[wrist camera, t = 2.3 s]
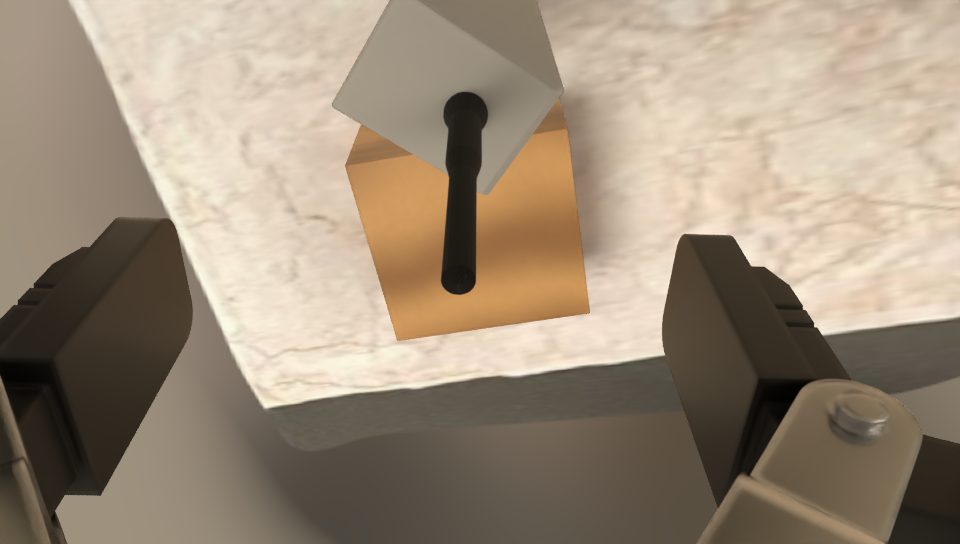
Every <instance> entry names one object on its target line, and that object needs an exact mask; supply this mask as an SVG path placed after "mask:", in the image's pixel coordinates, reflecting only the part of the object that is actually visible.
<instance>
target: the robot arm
mask: <svg viewBox="0 0 960 544" xmlns="http://www.w3.org/2000/svg"><path fill="white" fill-rule="evenodd" d="M192 310H193V309H192V300H191V295H190V291H189V286H188V281H187V276H186V272H185V267H184V262H183V257H182V253H181V248H180V243H179V238H178V234H177V230H176V228H175V226H174V224H173V222H172V221H171V220H170V219H167V218H134V217H132V218H131V217H118V218H116V219H115V220H114V221H113V222H112V223H111V224H110V225H109V226H108V227H107V229H106V230H105V231H104V232H103V233H102V234H101V235H100V236H99V237H98V239H97V240H96V241H95V242H94V243H93V244H92V245H91V246H90V247H82V248H80V249H79V250H77V251H75V252H73V253H71V254H70V255H68V256H66V257H65V258H62V259H61V260H59V261H57V262H55V263H54V264H52V265H51V266H50V268H48V270H47V271H46V272H45V273H44V274H43V275H42V276H41V277H40V278H39V279H38V280H37V281H36V282H35V283H34V288H30V289H29V290H28V291H27V292H26V293H25V294H24V295H23V296H22V297H21V298H20V299H19V300H18V305H14V306H13V307H11V309H10V310H9V311H8V312H7V313H6V314H5V315H4V316H3V317H2V318H1V319H0V544H67V542H66V540H65V537H64V533H63V530H62V528H61V525H60V522H59V520H58V517H57V515H56V512H55V510H56V508H57V507H58V505H59V504H60V502H61V500H62V499H63V497H64V495H97V496H100V495H101V494H102V492H103V490H104V488H105V487H106V485H107V483H108V481H109V479H110V478H111V476H112V474H113V472H114V471H115V469H116V467H117V465H118V464H119V462H120V460H121V458H122V456H123V455H124V453H125V451H126V449H127V447H128V446H129V444H130V442H131V440H132V438H133V437H134V435H135V433H136V431H137V429H138V428H139V426H140V424H141V422H142V420H143V419H144V417H145V415H146V413H147V411H148V409H149V408H150V406H151V404H152V402H153V401H154V399H155V397H156V395H157V393H158V392H159V390H160V388H161V386H162V384H163V383H164V381H165V379H166V377H167V376H168V374H169V372H170V370H171V368H172V366H173V365H174V363H175V361H176V359H177V357H178V356H179V354H180V352H181V350H182V349H183V347H184V345H185V343H186V341H187V339H188V337H189V334H190V330H191V325H192V315H193V314H192V313H193V311H192ZM662 340H663V348H664V352H665V356H666V358H667V361H668V364H669V367H670V370H671V373H672V376H673V379H674V382H675V385H676V388H677V390H678V393H679V396H680V399H681V402H682V405H683V408H684V411H685V414H686V417H687V420H688V422H689V425H690V428H691V431H692V434H693V437H694V440H695V443H696V445H697V449H698V451H699V454H700V457H701V460H702V463H703V466H704V469H705V472H706V474H707V478H708V480H709V483H710V486H711V489H712V492H713V495H714V498H715V501H716V504H717V507H718V510H717V511H716V513H715V515H714V516H713V518H712V520H711V521H710V523H709V524H708V526H707V528H706V529H705V531H704V533H703V534H702V536H701V538H700V539H699V541H698V542H697V544H960V444H958V443H953V442H950V441H946V440H941V439H937V438H934V437H930V436H927V435H923V434H922V429H921V427H920V425H919V423H918V421H917V420H916V418H915V417H914V415H913V414H912V413H911V412H910V411H909V410H908V409H907V408H906V407H905V406H904V405H902V404H901V403H900V402H899V401H897V400H896V399H894V398H893V397H891V396H890V395H888V394H886V393H884V392H882V391H880V390H878V389H876V388H874V387H871V386H868V385H865V384H862V383H859V382H855V381H852V380H851V378H850V377H849V375H848V374H847V372H846V371H845V369H844V368H843V366H842V365H841V363H840V362H839V360H838V359H837V357H836V356H835V354H834V352H833V351H832V349H831V348H830V346H829V345H828V343H827V342H826V340H825V339H824V337H823V336H822V334H821V333H820V331H819V330H818V328H815V327H814V322H813V321H812V319H811V318H810V316H809V315H808V313H807V311H806V310H803V305H802V304H801V302H800V301H799V299H798V298H797V296H796V295H795V293H794V292H793V290H792V289H791V287H790V286H789V285H788V284H787V283H786V282H784V281H783V280H781V279H780V278H779V277H777V276H776V275H775V274H773V273H772V272H771V271H769V270H768V269H766V268H765V267H752V266H751V265H750V264H749V262H748V260H747V259H746V257H745V255H744V254H743V252H742V250H741V249H740V247H739V245H738V244H737V242H736V240H735V239H734V238H733V237H732V236H730V235H699V234H684V235H682V236H681V238H680V240H679V242H678V245H677V249H676V254H675V259H674V264H673V269H672V274H671V279H670V284H669V289H668V294H667V299H666V304H665V309H664V314H663V322H662Z"/></svg>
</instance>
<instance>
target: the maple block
mask: <svg viewBox="0 0 960 544" xmlns="http://www.w3.org/2000/svg"><path fill="white" fill-rule="evenodd" d="M345 167H346V170H347V174H348V177H349V180H350V184H351V187H352V190H353V194H354V197H355V200H356V204H357V207H358V211H359V214H360V217H361V221H362V224H363V227H364V231H365V234H366V237H367V241H368V244H369V247H370V251H371V254H372V257H373V261H374V264H375V267H376V271H377V274H378V278H379V281H380V284H381V288H382V291H383V294H384V298H385V301H386V304H387V308H388V311H389V314H390V318H391V321H392V324H393V328H394V331H395V334H396V338H397V340H398V341H400V340H407V339H414V338H421V337H428V336H435V335H442V334H449V333H456V332H463V331H470V330H477V329H483V328H490V327H497V326H504V325H511V324H518V323H525V322H532V321H539V320H546V319H553V318H560V317H567V316H574V315H580V314H587V313H590V309H589V301H588V293H587V285H586V277H585V268H584V260H583V252H582V244H581V235H580V227H579V219H578V211H577V203H576V194H575V186H574V178H573V170H572V161H571V153H570V145H569V137H568V129H567V125H566V122H565V118H564V114H563V111H562V107H561V103H560V100H559V98H558V100H557V101H556V102H555V104H554V105H553V107H552V108H551V109H550V111H549V112H548V113H547V115H546V116H545V118H544V119H543V120H542V122H541V123H540V125H539V126H538V127H537V129H536V130H535V131H534V133H533V134H532V136H531V137H530V138H529V140H528V141H527V142H526V144H525V145H524V147H523V148H522V149H521V151H520V152H519V153H518V155H517V156H516V158H515V159H514V160H513V162H512V163H511V164H510V166H509V167H508V169H507V170H506V171H505V173H504V174H503V176H502V177H501V178H500V180H499V181H498V182H497V184H496V185H495V187H494V188H493V189H492V191H491V192H490V193H489V195H483V194H480V193H478V192H477V216H476V284H475V286H474V288H473V289H472V290H471V291H470V292H468V293H466V294H462V295H454V294H451V293H449V292H448V291H446V290H445V289H444V288H443V286H442V284H441V272H442V260H443V248H444V235H445V223H446V210H447V198H448V186H449V176H448V175H447V174H445V173H444V172H442V171H440V170H439V169H437V168H435V167H434V166H432V165H430V164H428V163H427V162H425V161H423V160H422V159H420V158H418V157H416V156H415V155H413V154H411V153H410V152H408V151H406V150H405V149H403V148H401V147H399V146H398V145H396V144H394V143H393V142H391V141H389V140H388V139H386V138H384V137H382V136H381V135H379V134H377V133H376V132H374V131H372V130H370V129H369V128H367V127H365V126H364V125H361V126H360V128H359V131H358V134H357V136H356V139H355V142H354V144H353V147H352V149H351V152H350V155H349V157H348V160H347V163H346V165H345Z"/></svg>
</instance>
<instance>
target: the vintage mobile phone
mask: <svg viewBox="0 0 960 544" xmlns="http://www.w3.org/2000/svg"><path fill="white" fill-rule="evenodd" d="M563 90H564V88H563V85H562V82H561V78H560V75H559V72H558V69H557V65H556V62H555V59H554V56H553V52H552V49H551V46H550V43H549V39H548V36H547V33H546V29H545V26H544V23H543V20H542V16H541V13H540V10H539V7H538V3H537V0H390V1H389V3H388V5H387V6H386V8H385V10H384V12H383V14H382V15H381V17H380V19H379V21H378V22H377V24H376V26H375V28H374V30H373V31H372V33H371V35H370V37H369V39H368V40H367V42H366V44H365V46H364V47H363V49H362V51H361V53H360V55H359V56H358V58H357V60H356V62H355V64H354V65H353V67H352V69H351V71H350V72H349V74H348V76H347V78H346V80H345V81H344V83H343V85H342V87H341V89H340V90H339V92H338V94H337V96H336V97H335V99H334V101H333V103H332V107H333V108H335V109H336V110H338V111H340V112H341V113H343V114H345V115H347V116H348V117H350V118H352V119H353V120H355V121H357V122H359V123H360V124H362V125H364V126H365V127H367V128H369V129H370V130H372V131H374V132H376V133H377V134H379V135H381V136H382V137H384V138H386V139H388V140H389V141H391V142H393V143H394V144H396V145H398V146H399V147H401V148H403V149H405V150H406V151H408V152H410V153H411V154H413V155H415V156H416V157H418V158H420V159H422V160H423V161H425V162H427V163H428V164H430V165H432V166H434V167H435V168H437V169H439V170H440V171H442V172H444V173H445V174H447V175H448V176H449V186H448V198H447V210H446V223H445V235H444V248H443V260H442V272H441V284H442V286H443V288H444V289H445V290H446V291H448V292H449V293H451V294H454V295H462V294H466V293H468V292H470V291H471V290H472V289H473V288H474V286H475V284H476V216H477V192H478V193H480V194H483V195H489V193H490V192H491V191H492V189H493V188H494V187H495V185H496V184H497V182H498V181H499V180H500V178H501V177H502V176H503V174H504V173H505V171H506V170H507V169H508V167H509V166H510V164H511V163H512V162H513V160H514V159H515V158H516V156H517V155H518V153H519V152H520V151H521V149H522V148H523V147H524V145H525V144H526V142H527V141H528V140H529V138H530V137H531V136H532V134H533V133H534V131H535V130H536V129H537V127H538V126H539V125H540V123H541V122H542V120H543V119H544V118H545V116H546V115H547V113H548V112H549V111H550V109H551V108H552V107H553V105H554V104H555V102H556V101H557V100H558V98H559V97H560V96H561V94H562V93H563Z"/></svg>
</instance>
